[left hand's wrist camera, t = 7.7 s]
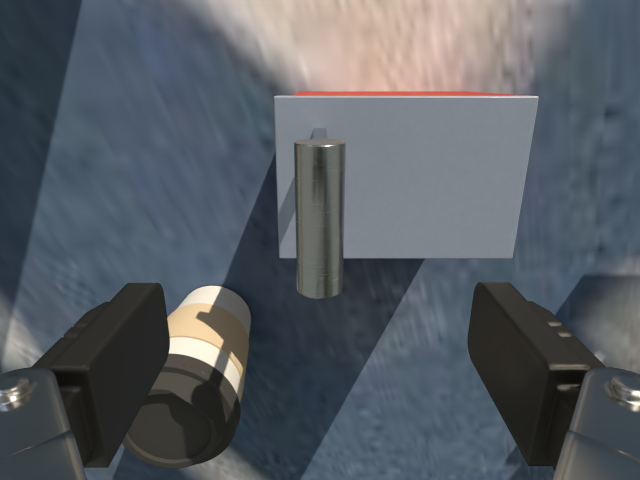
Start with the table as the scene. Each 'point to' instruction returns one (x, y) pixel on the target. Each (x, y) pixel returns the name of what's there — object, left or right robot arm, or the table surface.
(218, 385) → the coffee cup
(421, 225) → the lid
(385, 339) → the table surface
